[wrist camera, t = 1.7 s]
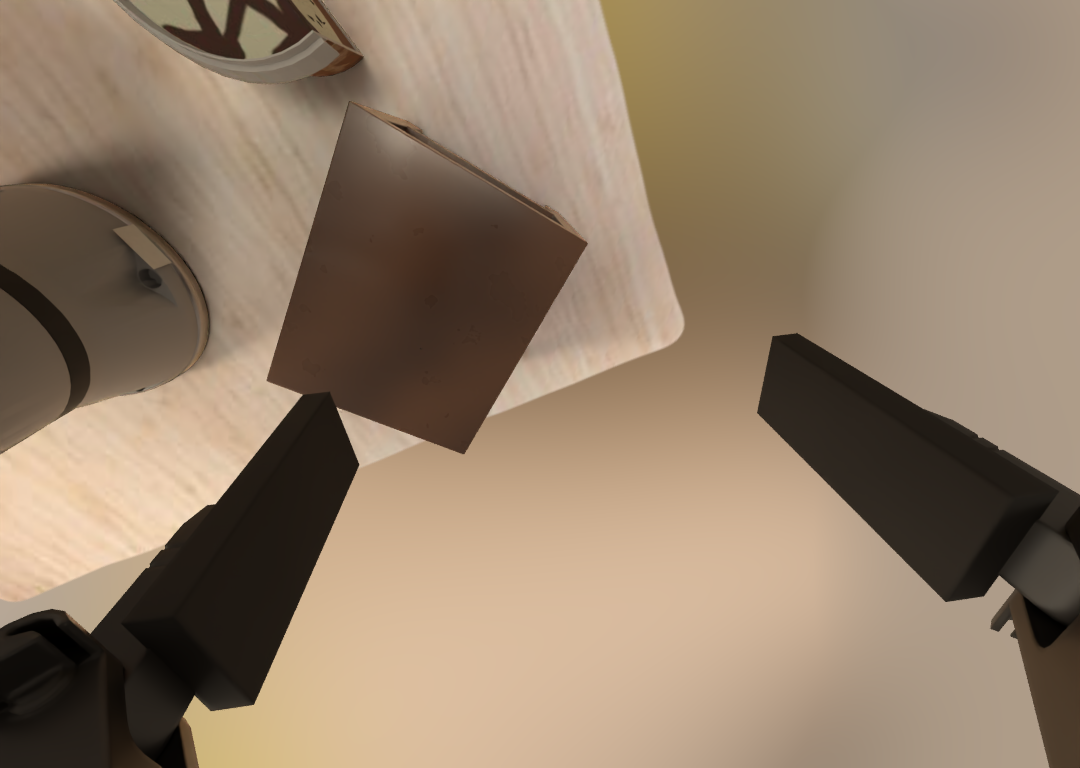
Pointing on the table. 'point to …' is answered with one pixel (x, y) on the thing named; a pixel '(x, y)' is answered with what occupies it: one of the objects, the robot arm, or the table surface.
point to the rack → (418, 283)
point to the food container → (250, 36)
